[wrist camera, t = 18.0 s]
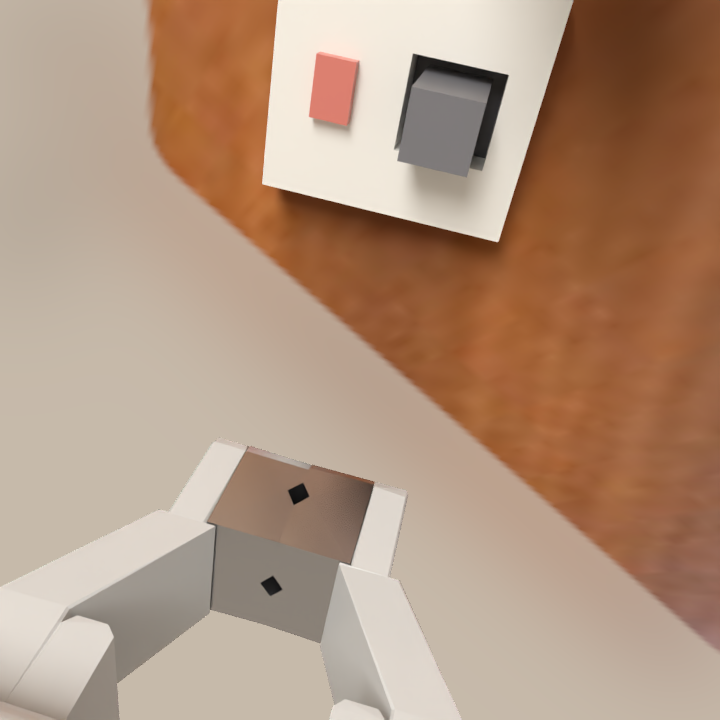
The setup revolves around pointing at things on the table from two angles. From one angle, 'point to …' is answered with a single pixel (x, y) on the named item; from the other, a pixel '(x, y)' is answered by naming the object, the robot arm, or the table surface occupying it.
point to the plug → (444, 120)
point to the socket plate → (405, 101)
